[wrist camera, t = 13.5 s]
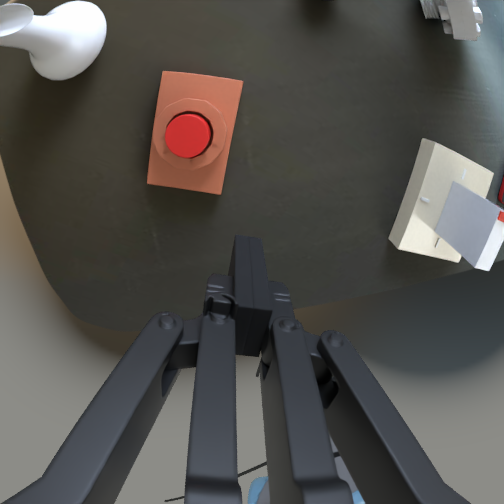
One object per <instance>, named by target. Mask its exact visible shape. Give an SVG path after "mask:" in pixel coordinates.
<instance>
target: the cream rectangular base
mask: <svg viewBox="0 0 504 504" xmlns="http://www.w3.org/2000/svg"><path fill="white" fill-rule="evenodd" d="M493 175H494V173H492V172H491V171H489V170H487V169H486V168H484V167H482V166H480V165H479V164H477V163H475V162H473V161H471V160H470V159H468V158H466V157H464V156H462V155H460V154H458V153H456V152H455V151H453V150H451V149H449V148H447V147H445V146H443V145H440V144H438V143H436V142H434V141H431V140H428V139H425V138H422V141H421V144H420V148H419V151H418V155H417V158H416V161H415V164H414V168H413V171H412V174H411V177H410V180H409V183H408V186H407V189H406V192H405V195H404V198H403V200H402V203H401V206H400V209H399V212H398V214H397V217H396V220H395V222H394V225H393V227H392V230H391V233H390V235H389V238H388V239H389V240H390V241H391V242H392V243H393V244H394V245H395V246H396V248H397V249H400V250H404V251H409V252H414V253H418V254H423V255H427V256H432V257H436V258H441V259H445V260H449V261H454V262H459V261H460V258H461V256H462V255H460V254H459V253H458V252H457V251H456V250H455V249H454V248H453V247H452V246H451V245H449V244H448V243H447V242H446V241H445V240H444V239H443V238H441V237H440V236H439V235H438V234H437V233H436V232H435V228H436V226H437V223H438V221H439V218H440V216H441V213H442V210H443V208H444V205H445V202H446V200H447V197H448V194H449V191H450V188H451V185H452V183H453V181H455V182H457V183H459V184H461V185H463V186H466V187H468V188H469V189H471V190H473V191H475V192H477V193H478V194H480V195H482V196H483V197H485V198H486V196H487V193H488V190H489V187H490V184H491V181H492V178H493Z"/></svg>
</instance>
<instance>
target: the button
mask: <svg viewBox="0 0 504 504" xmlns="http://www.w3.org/2000/svg"><path fill="white" fill-rule="evenodd" d="M209 140H210V128H209V125H208V123H207V122H206V121H205V120H204V119H203V118H202V117H200V116H198V115H195V114H185V115H181V116H179V117H176V118H175V119H173V120H172V121H171V122H170V123H169V125H168V127H167V129H166V132H165V142H166V145H167V147H168V148H169V150H170V151H171V152H172V153H173V154H175V155H177V156H179V157H183V158H190V157H194V156H196V155H198V154H200V153H201V152H202V151H203V150H204V149H205V147H206V146H207V144H208V143H209Z"/></svg>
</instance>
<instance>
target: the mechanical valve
mask: <svg viewBox="0 0 504 504" xmlns="http://www.w3.org/2000/svg"><path fill="white" fill-rule="evenodd" d="M323 1H332V0H323ZM420 2H421V5H422V8H423V12H424V15H425V17H426V19H427V17H428V18H429V19H430V17H431V18H432V19H433V17H434V18H435V19H436V17H437V18H438V19H439V14H438V12H440V16H441V19H442V20H447V21H442V23H443V27H444V32H445V33H446V34H453V37H454V39H460V40H472V41H477V37H480V33H481V32H480V28H479V26H478V24H477V23H479V24H482V23H483V16H482V13H481V11H480V9H479V7H478V5H477V1H476V0H420Z"/></svg>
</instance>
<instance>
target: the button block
mask: <svg viewBox="0 0 504 504" xmlns="http://www.w3.org/2000/svg"><path fill="white" fill-rule="evenodd" d="M242 86H243V81H239V80H234V79H227V78H221V77H214V76H207V75H199V74H191V73H181V72H170V71H163V74H162V79H161V84H160V90H159V95H158V101H157V107H156V113H155V120H154V127H153V134H152V142H151V150H150V158H149V167H148V177H147V184H153V185H160V186H167V187H174V188H181V189H187V190H194V191H200V192H207V193H213V194H219V195H221V191H222V186H223V181H224V175H225V170H226V165H227V159H228V154H229V149H230V144H231V139H232V134H233V129H234V124H235V119H236V114H237V110H238V105H239V100H240V96H241V91H242ZM185 114H195V115H198V116H200V117H202V118H203V119H204V120H205V121H206V122H207V123H208V125H209V128H210V140H209V143H208V144H207V146H206V147H205V149H204V150H203V151H202V152H201V153H200V154H198V155H196V156H194V157H190V158H183V157H179V156H177V155H175V154H173V153H172V152H171V151H170V150H169V148H168V147H167V145H166V142H165V132H166V129H167V127H168V125H169V123H170V122H171V121H172V120H173V119H175V118H176V117H179V116H181V115H185Z"/></svg>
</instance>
